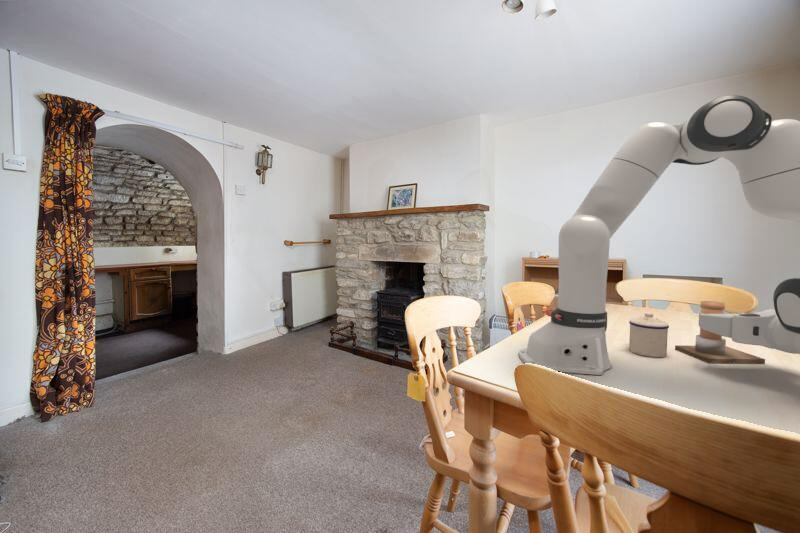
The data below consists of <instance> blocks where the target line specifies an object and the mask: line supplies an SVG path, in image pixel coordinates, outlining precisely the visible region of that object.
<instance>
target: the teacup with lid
mask: <svg viewBox="0 0 800 533" xmlns="http://www.w3.org/2000/svg"><path fill="white" fill-rule="evenodd" d="M628 323H629V338H628V339H629V341H628V350H629V351H630V352H631V353H634V354H636V355H639V356H643V357H649V358H665V357H666V356H667V353H668V350H667V349H668V336H669V335H668V334H669V332H668V331H669V328H670V326H669V323H668V322H666V321H663V320H661V319H660V318H658V317H655V316H654V313H652V312H645V313H644V315H641V316H638V317H634V318H631V319H629V321H628Z"/></svg>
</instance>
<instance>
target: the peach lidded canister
mask: <svg viewBox="0 0 800 533" xmlns="http://www.w3.org/2000/svg"><path fill="white" fill-rule="evenodd" d="M725 306H726V303H725V302H721V301H715V300H714V301H712V300H711V301H710V300H702V301H701V300H700V308H701V309H700V313H707V314H724V311H725V308H726V307H725ZM699 335H700V337H701V338H704V339H709V340H722V338H723V336H721V335H717V334H715V333H712V332H709V331H706V330H704V329H701V328H700V327H699Z"/></svg>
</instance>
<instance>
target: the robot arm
mask: <svg viewBox="0 0 800 533" xmlns="http://www.w3.org/2000/svg"><path fill="white" fill-rule="evenodd" d="M767 120H768V121H767ZM720 158H724V159H726V160H728V161H729V162H730V163H732V164H733V165H734V167H735V168H736V171H738V176H739V180H740V184H741V188H742V191H743V193H744V194H743V195H744V198H745V200H746V201H747V203H748V205H749V206H750V208H752V209H753V211H755V212H757V213H759V214H761V215H764V216H767V217H769V218H770V217H771V218H774V219H781V220H783V219H784V220H790V221H797V222H800V120H797V119H795V118H794V119H793V118H784V119H783V118H782V119H774V120H773V118H772V115H771V114H770V113H768V112H767V111H765V110H764V109H762V108H761V107H760V106H759V105H758V103H756V101H754V100H752V99H751V98H749V97H746V96H743V95H738V94H733V95H732V94H731V95H726V96H725V95H724V96H721V97H718V98H716V99H712V100H711V101H709V102H707V103H705V104H703V105H702V106H700V107H699V108H698V109H697V110H696V111H694V113H693V114H692V116H690V117H689V119H687V120H686V121H685V122H682V123H680V124H677V125H676V124H672V125H671V124H669V123H667V122H661V121H653V122H648V123H646V124H644V125H642V126H641V127H639V128H638V129H637V130H635V132H634V133H633V134H632V135H631V136H630V137H629V138H628V140H626V141H625V143H624V144H623V145H622V146H621V147H620V149H619V150H618V151H617V152H616V153H615V155H614V156H613V158H612V159H611V160H610V161H609V163H608V164H607V166H606V167H605V168H604V169H603V171H602V173H601V174H600V176H599V177H598V179H597V180H596V181H595V182H594V183H593V185H592V187H591V188H590V190H589V191H588V193H587V195H586V196H585V198H584V199H583V200H582V202H581V203H580V205H579V206H578V208H577V210H576V211H575V212H574V214H573V215H572V217H571V218H570V219H568V220H567V221H566V222H564V224H563V225H562V226H561V228H560V230H559V232H558V233H559V234H558V302H557V308H556V309H554V310H553V309H551V308H550V307H548V308H545V309H544V314H545V315H546V316H548V317H550V321H549V322H548V323H546V324H545V325H543V326H541V327H540V328H538V329H537V330H536V331H534V332H531V334H530V335H529V337H528V342H527V347H526V348H521V349H519V351H518V357H519V359H520V360H521V361H522V362H523V363H524V364H525V363H532V364H537V365H541V366H545V367H547V368H551V369H553V370H557V371H560V372H559V373H569V374H572V373H573V374H581V375H582V374H583V375H584V374H585V375H592V376H593V375H594V376H595V375H596V376H602V375H604V371H607V370H609V369H610V368H611V366H612V363H611V360H610V357H609V353H608V347H607V339H606V336H607V335H606V332H607V328H608V311H606V304H607V303H606V302H607V283H608V282H607V280H608V270H609V268H608V267H609V257H610V256H609V255H610V243H611V242H610V241H611V238H612V237H613V236H614V234H615V233H616V232H617V231H618V230H619V229H620V227H621V226H622V225H623V224H624V222H625V221H626V220H627V219H628V218H629V216H630V215H631V214H632V213H633V212H634V210H635V209H636V208H637V207H638V206H639V205H640V204H641V202H642V201H643V200H644V198H645V197H646V195H648V193H649V192H650V190H651V189H652V188H653V186H654V185H655V184H656V183H657V182H658V180H659V179H660V177H661V176H662V175H663V173H664V172H665V171H666V169H667V168H668V167H669V166H670V165H671V164H673V163H674V164H684V165H691V166H701V165H706V164H709V163H712V162H713V163H714V162H715V161H717V160H718V159H720ZM773 306H774V309H772V308H769V309H765V310H761V311H756V312H752V313H744V312H736V313H723V314H707V313H701V312H700V313H698V327H699V329H700V328H701V329H704V330H706V331H709V332H712V333H715V334H717V335H721V336H722V337H725V338H729V339H731V341H732V342H734V343H738V344H743V345H752V346H760V347H764V348H767V349H772V350H777V351H781V352H784V353H787V354H793V355H796V354H797V355H800V276H797V277H794V278H788V279H785V280H783V281H781V282H779V284H778V285H777V286H776V287H775V289H774V292H773Z"/></svg>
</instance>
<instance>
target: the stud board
mask: <svg viewBox="0 0 800 533" xmlns="http://www.w3.org/2000/svg"><path fill="white" fill-rule="evenodd" d="M726 343H727V339H725V338H723V337H722V340H709V339H704V338H701V337H700V334H697V335H695V344H694V345H675V346H674V350H675V351H677V352H680V353H683V354H686V355H688V356H690V357H693V358H695V359H697V360H700V361H702V362H705V363H707V364H742V365H743V364H747V365H749V364H753V365H754V364H755V365H756V364H758V365H760V364H761V365H762V364H763V365H765V364H766V359H765V358H762V357H760V356H756V355H754V354H750V353H748V352H744V351H742V350H738V349H736V348H733V347H730V346H726V345H727V344H726Z"/></svg>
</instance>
